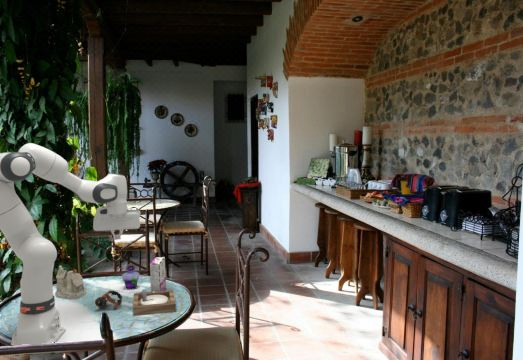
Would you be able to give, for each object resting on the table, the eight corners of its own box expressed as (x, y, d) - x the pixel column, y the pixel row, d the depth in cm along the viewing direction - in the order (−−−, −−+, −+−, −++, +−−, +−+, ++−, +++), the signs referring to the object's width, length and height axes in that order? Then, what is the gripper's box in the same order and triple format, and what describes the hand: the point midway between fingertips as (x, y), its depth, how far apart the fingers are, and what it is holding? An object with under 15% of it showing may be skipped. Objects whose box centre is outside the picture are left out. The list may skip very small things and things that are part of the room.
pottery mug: (109, 302, 211) (117, 288, 210) (119, 316, 206) (128, 301, 205) (87, 304, 201) (95, 289, 200) (97, 318, 196) (105, 303, 195)
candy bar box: (156, 288, 228) (155, 256, 226) (166, 288, 228) (165, 256, 226) (150, 297, 217) (149, 263, 215) (160, 297, 217) (159, 263, 215)
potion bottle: (132, 291, 224) (131, 267, 223) (118, 288, 228) (117, 265, 227) (143, 286, 232) (142, 263, 231) (130, 283, 236) (129, 261, 234)
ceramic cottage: (71, 300, 212) (70, 268, 211) (48, 296, 220) (48, 265, 219) (98, 292, 225) (97, 262, 225) (75, 288, 233) (75, 259, 233)
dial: (165, 297, 213) (165, 282, 212) (170, 306, 202) (169, 291, 201) (139, 300, 209) (138, 286, 208) (142, 310, 198) (141, 295, 197)
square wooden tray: (175, 311, 199) (175, 303, 199) (133, 315, 195) (132, 307, 194) (173, 297, 216) (173, 289, 216) (134, 300, 212) (134, 292, 212)
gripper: (139, 207, 212) (139, 236, 213) (92, 208, 204) (93, 239, 205) (141, 209, 206) (141, 239, 207) (93, 211, 198) (93, 242, 199)
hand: (117, 239), depth 206 cm, fingers closed
